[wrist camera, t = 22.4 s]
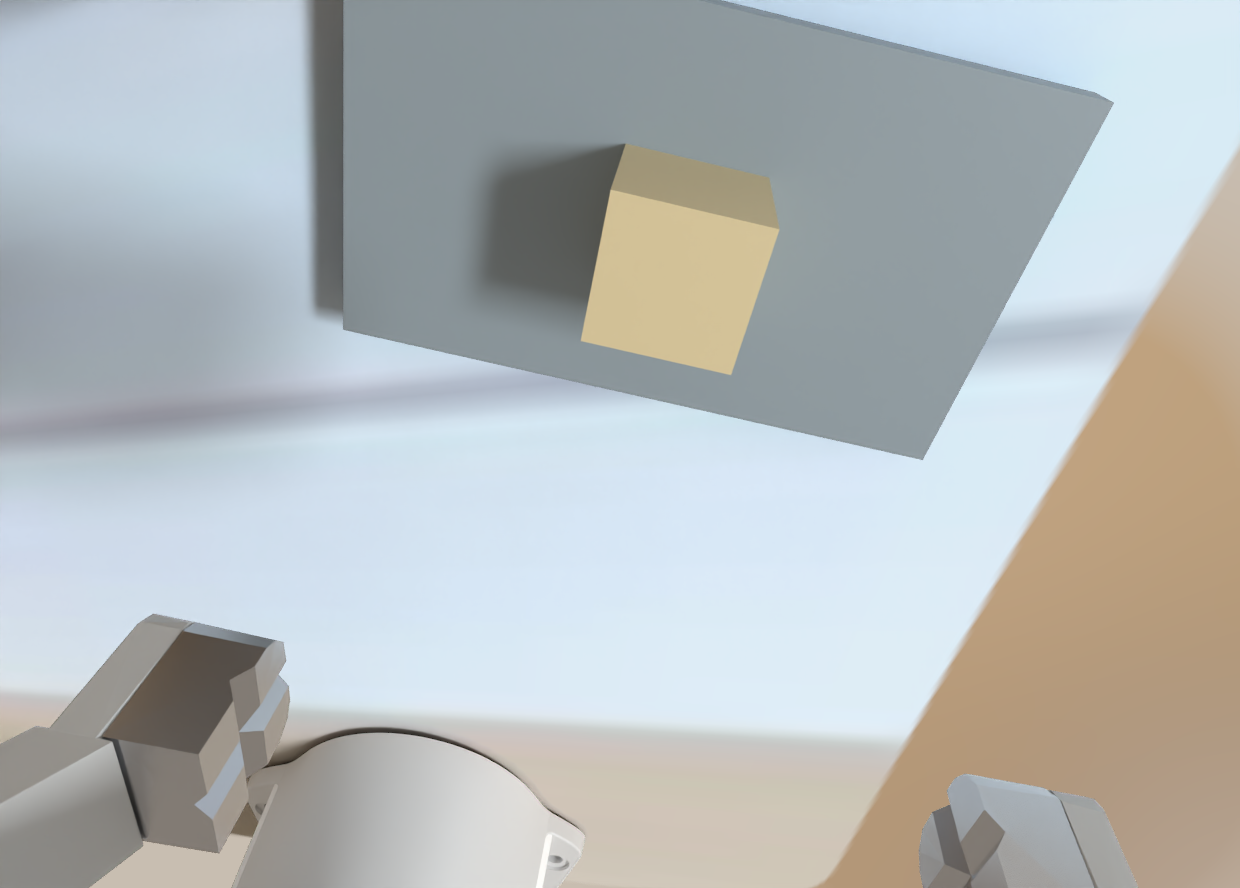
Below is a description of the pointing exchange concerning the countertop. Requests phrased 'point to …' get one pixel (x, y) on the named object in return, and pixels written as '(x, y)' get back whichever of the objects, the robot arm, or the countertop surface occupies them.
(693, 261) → the lid
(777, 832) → the countertop surface
